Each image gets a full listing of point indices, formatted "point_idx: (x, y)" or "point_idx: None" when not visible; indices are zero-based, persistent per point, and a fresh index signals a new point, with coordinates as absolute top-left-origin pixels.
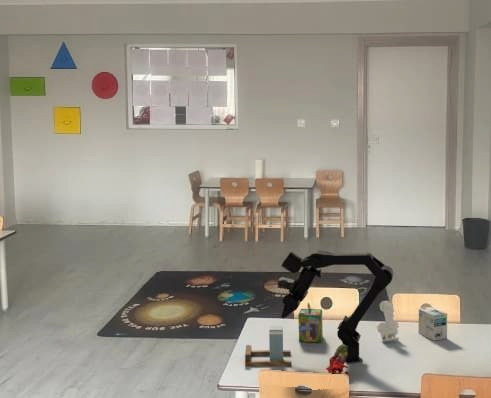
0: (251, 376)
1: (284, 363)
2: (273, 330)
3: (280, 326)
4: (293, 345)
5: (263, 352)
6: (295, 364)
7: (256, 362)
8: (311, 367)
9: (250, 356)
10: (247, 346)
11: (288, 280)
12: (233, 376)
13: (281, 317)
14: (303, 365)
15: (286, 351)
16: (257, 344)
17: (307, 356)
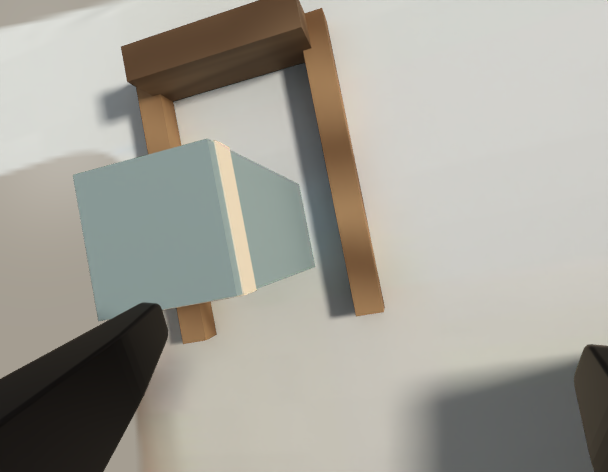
0: (32, 151)
1: None
2: (84, 220)
3: (201, 277)
4: (567, 304)
5: (320, 132)
6: (219, 357)
7: (146, 135)
8: (193, 453)
9: (135, 85)
10: (266, 9)
11: None
12: (17, 62)
13: (146, 307)
14: (213, 405)
15: (352, 286)
16: (537, 33)
17: (360, 422)
